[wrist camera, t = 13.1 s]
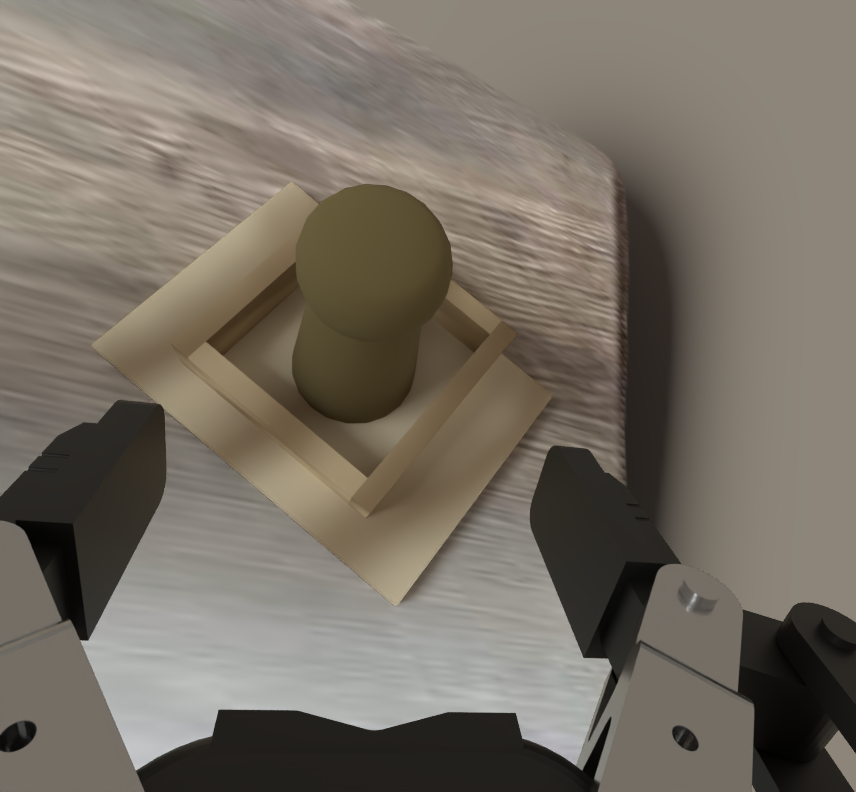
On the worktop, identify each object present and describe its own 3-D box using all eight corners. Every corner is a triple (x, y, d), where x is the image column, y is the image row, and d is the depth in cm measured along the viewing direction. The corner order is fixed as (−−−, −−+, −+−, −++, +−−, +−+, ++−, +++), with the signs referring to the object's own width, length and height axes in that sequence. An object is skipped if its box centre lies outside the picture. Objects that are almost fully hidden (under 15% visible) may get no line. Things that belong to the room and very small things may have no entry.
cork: (409, 431, 26) (471, 338, 16) (281, 415, 26) (262, 305, 15) (419, 319, 28) (481, 173, 18) (301, 300, 27) (295, 134, 17)
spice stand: (98, 353, 26) (67, 321, 22) (292, 193, 30) (289, 147, 27) (393, 605, 25) (405, 609, 22) (545, 401, 30) (574, 379, 26)
